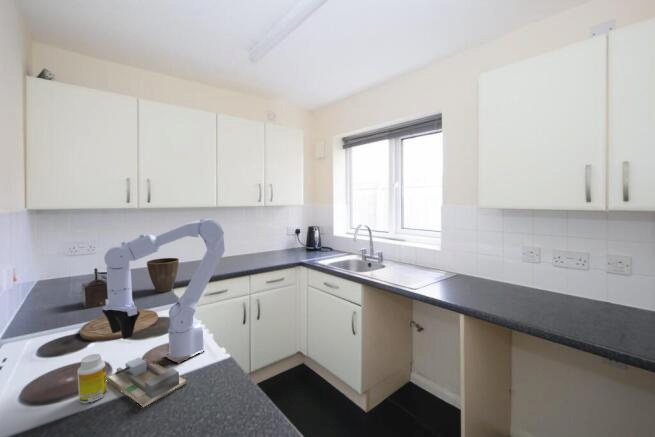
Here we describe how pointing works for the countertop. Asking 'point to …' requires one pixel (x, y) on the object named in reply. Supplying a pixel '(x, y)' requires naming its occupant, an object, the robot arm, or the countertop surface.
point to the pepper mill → (95, 292)
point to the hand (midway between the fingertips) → (122, 334)
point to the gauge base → (146, 383)
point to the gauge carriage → (135, 367)
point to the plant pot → (163, 273)
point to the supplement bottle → (91, 378)
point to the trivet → (102, 330)
